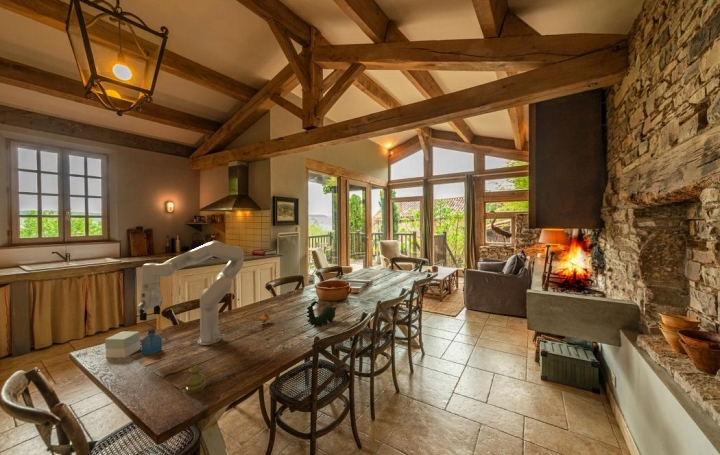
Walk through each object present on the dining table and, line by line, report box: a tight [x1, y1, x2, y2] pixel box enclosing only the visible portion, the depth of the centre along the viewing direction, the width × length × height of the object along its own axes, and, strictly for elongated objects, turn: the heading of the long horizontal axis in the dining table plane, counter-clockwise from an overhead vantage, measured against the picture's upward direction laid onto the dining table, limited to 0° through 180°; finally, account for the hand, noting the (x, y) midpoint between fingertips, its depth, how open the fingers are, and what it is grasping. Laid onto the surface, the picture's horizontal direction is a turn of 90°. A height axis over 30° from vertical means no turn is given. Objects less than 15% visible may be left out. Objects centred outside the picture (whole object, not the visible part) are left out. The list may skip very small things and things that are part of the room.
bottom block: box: [105, 340, 141, 359], centre depth 150 cm, size 10×10×5 cm
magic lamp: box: [251, 305, 273, 323], centre depth 193 cm, size 7×18×11 cm, turn 150°
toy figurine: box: [306, 300, 337, 328], centre depth 193 cm, size 9×19×25 cm
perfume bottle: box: [141, 328, 163, 356], centre depth 152 cm, size 6×6×12 cm
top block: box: [104, 330, 141, 350], centre depth 150 cm, size 10×10×5 cm
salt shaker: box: [184, 364, 206, 395], centre depth 119 cm, size 7×7×10 cm
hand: (150, 317), depth 151 cm, fingers open, 9 cm apart
